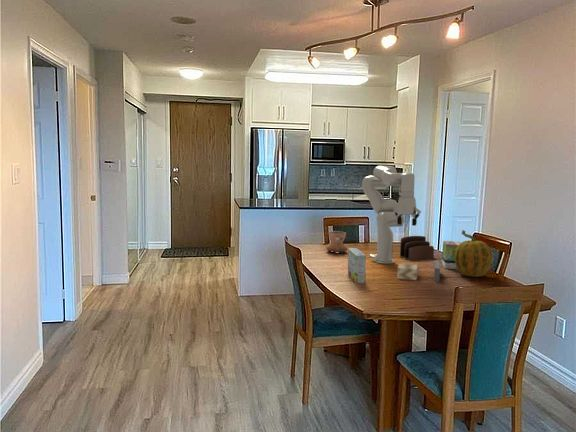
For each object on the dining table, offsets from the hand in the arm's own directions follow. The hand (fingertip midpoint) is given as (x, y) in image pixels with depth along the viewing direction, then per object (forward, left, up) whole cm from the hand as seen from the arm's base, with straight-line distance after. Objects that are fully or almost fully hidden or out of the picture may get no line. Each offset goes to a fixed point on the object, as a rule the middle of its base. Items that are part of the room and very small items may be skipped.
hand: (406, 224), depth 271 cm
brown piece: (-49, +44, -27) cm, 71 cm away
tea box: (+26, +21, -27) cm, 43 cm away
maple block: (+2, -15, -27) cm, 31 cm away
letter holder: (+5, +42, -27) cm, 50 cm away
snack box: (-24, -29, -27) cm, 46 cm away
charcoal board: (+17, -10, -27) cm, 33 cm away
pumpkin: (+36, -1, -27) cm, 45 cm away
